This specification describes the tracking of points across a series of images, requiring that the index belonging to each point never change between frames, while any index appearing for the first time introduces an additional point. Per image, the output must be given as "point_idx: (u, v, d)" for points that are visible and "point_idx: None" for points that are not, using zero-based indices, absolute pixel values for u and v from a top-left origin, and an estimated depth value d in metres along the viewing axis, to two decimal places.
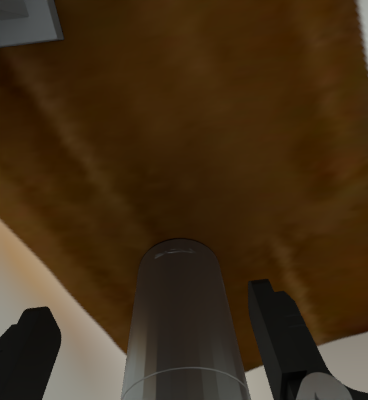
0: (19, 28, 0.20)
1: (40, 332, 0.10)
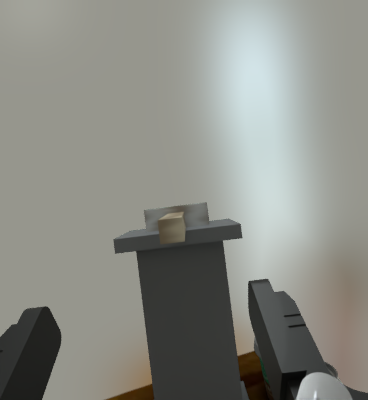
0: None
1: (40, 332, 0.10)
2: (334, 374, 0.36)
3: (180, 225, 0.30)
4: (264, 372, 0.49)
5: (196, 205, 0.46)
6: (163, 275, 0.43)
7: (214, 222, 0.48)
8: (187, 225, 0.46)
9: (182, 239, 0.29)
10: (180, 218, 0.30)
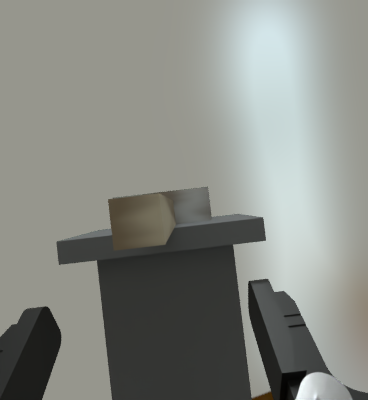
0: None
1: (40, 332, 0.10)
2: None
3: (156, 210, 0.14)
4: None
5: (192, 191, 0.30)
6: (139, 298, 0.27)
7: None
8: (178, 221, 0.30)
9: (160, 240, 0.14)
10: (156, 196, 0.14)
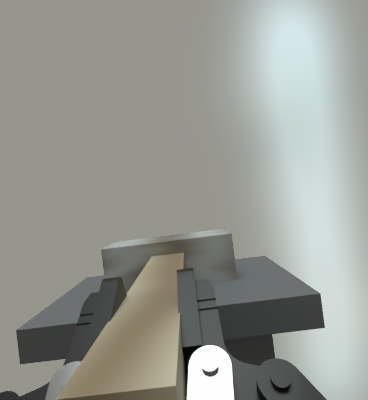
0: None
1: (119, 299, 0.11)
2: None
3: None
4: None
5: (210, 239, 0.22)
6: None
7: (244, 269, 0.25)
8: None
9: None
10: (170, 390, 0.06)
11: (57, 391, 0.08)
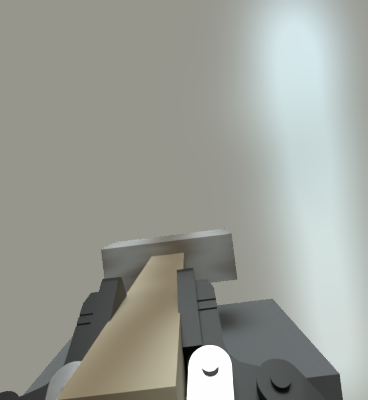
0: None
1: (119, 299, 0.11)
2: None
3: None
4: None
5: (210, 239, 0.22)
6: None
7: (252, 321, 0.23)
8: None
9: None
10: (170, 391, 0.06)
11: (57, 391, 0.08)
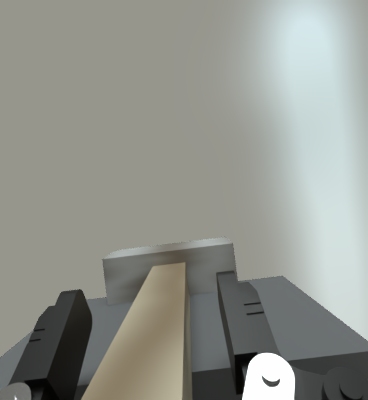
0: None
1: (76, 313, 0.11)
2: None
3: None
4: None
5: (211, 249, 0.22)
6: None
7: (260, 297, 0.20)
8: (192, 291, 0.22)
9: None
10: None
11: None
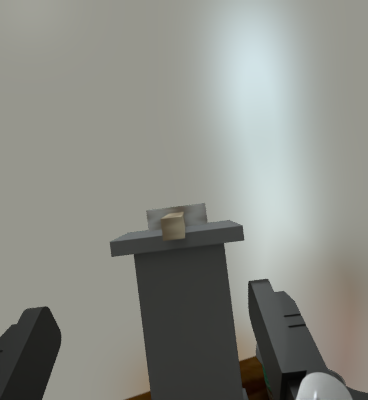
0: None
1: (40, 332, 0.10)
2: None
3: (181, 223, 0.33)
4: (267, 379, 0.47)
5: (195, 206, 0.49)
6: (162, 279, 0.41)
7: (215, 224, 0.46)
8: (187, 224, 0.49)
9: (183, 236, 0.33)
10: (181, 217, 0.33)
11: None
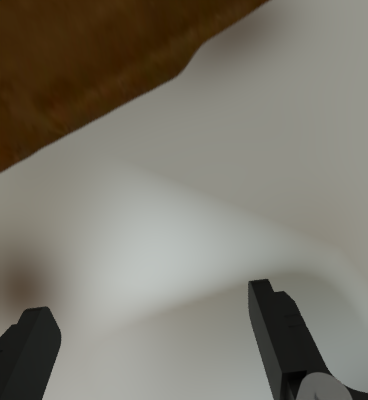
0: None
1: (40, 332, 0.10)
2: None
3: None
4: None
5: None
6: None
7: None
8: None
9: None
10: None
11: None
